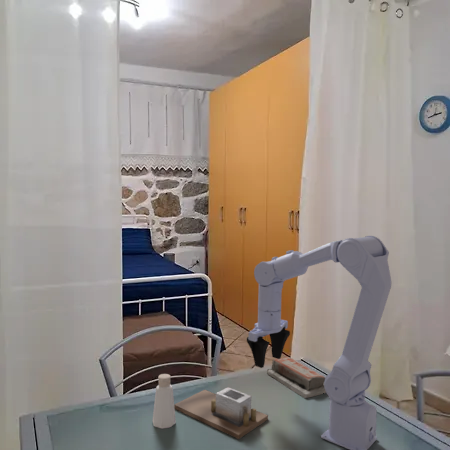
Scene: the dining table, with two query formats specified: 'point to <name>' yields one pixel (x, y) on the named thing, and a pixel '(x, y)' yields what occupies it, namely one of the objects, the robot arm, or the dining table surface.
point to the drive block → (233, 404)
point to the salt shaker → (164, 403)
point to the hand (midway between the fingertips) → (268, 362)
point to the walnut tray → (206, 412)
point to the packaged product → (297, 377)
